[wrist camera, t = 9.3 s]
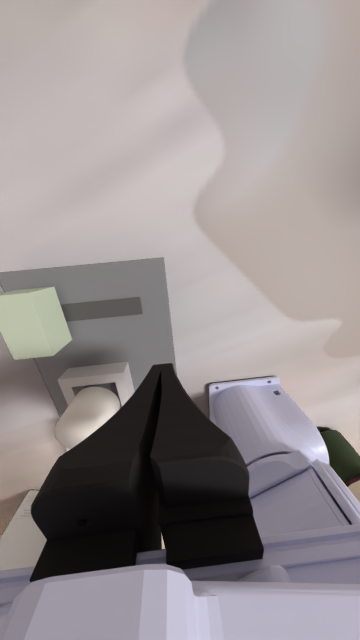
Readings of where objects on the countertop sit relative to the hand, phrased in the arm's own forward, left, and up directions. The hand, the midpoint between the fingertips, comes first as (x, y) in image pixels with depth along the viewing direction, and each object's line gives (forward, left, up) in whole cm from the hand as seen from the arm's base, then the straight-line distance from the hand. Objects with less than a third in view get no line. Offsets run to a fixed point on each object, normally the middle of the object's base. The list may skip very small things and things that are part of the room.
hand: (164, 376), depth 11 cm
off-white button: (+7, +6, -4) cm, 10 cm away
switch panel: (+6, +6, -9) cm, 12 cm away
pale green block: (+10, -3, -6) cm, 12 cm away
